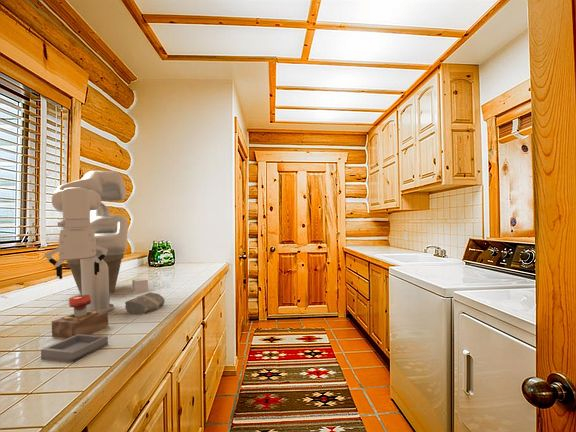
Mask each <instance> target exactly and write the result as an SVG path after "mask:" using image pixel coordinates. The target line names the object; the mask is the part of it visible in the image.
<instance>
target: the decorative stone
mask: <svg viewBox="0 0 576 432" xmlns="http://www.w3.org/2000/svg"><path fill="white" fill-rule="evenodd" d="M165 302H166V301H165V298H164V296H162V295H161V294H160V293H156V292H147V293H145V294H142V295H139V296H136V297H134V298H132V299H129V300H127V301H125V302H124V303H125V305H124V306H125V310H126V313H127V314H129V315H146V314H148V313H151V312H155V311H157V310H159V309H160V308H162V307H163V306H164V304H165Z"/></svg>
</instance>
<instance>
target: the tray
mask: <svg viewBox="0 0 576 432" xmlns="http://www.w3.org/2000/svg"><path fill="white" fill-rule="evenodd" d="M108 337H109V336H108V335H95V334H90V335H85V334H77V335H75V336H72V337H70V338H64V339H63V340H61V341H58V342H56V343H53V344H51V345H49V346H46V347H44V348H43V347H42V348H41V349H40V358H41V360H46V361H47V360H48V361H55V362H57V361H58V362H65V363H75V362H78V361H79V360H81V359H82V358H85V357H87V356H89V355H90V354H93V353H95V352H96V351H99V350H101V349H103V348H105V347H107V346H108V345H109V338H108Z"/></svg>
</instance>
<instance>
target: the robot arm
mask: <svg viewBox="0 0 576 432" xmlns="http://www.w3.org/2000/svg"><path fill="white" fill-rule="evenodd" d="M125 185H126V184H125V182H124V179H123V177H122V175H121V174H120V172H118V171H116V170H90V171H88V172H86V173H85V174H84V175H83V177H81V179H78V180H74V181H70V182H66V183H63V184H61V185H59V186H58V187H57V188H56V189H55V190H54V192H53V194H52V196H51V203H52V204H51V205H52V207H53V208H54V210H56V211H58V212H62V221H59V222H58V221H57V227H61V228H63V229H60V231H59V237H58V247H56V248H55V249H53V250H50V251H48V252H46V253H45V254H44V257H45V258H46V259H47V260H48V262H49V263H50V264H52V265H53V266H55V267H56V269H55V271H56V277H58V279H59V280H63V266H62V264H63V263H64V262H65V261H66V260H76V259H80V264H81V286H82V295H91V303H90V304H89V305H87V311H98V312H108V313H109V312H110V311H112V310H114V309H115V304H112V303H110V293H109V274H108V265H107V264H106V262H105V261H104V260H103V258H104V257H105V256H113V255H121V254H123V253H126V251H127V247H128V233H129V232H128V230H129V223H128V220H127V218H126V217H125V216H123V215H121V214H120V215H119V214H116V215H115V214H111V210H110V208H109V207H107V205H105V204H104V203H103V202H119V201H123V200H125V199H126V196H127V189H126V186H125ZM56 253H58V257H59V258H58V260H55V259H54V258H53V257H52V256H53V255H55V254H56Z"/></svg>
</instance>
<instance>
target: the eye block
mask: <svg viewBox="0 0 576 432" xmlns="http://www.w3.org/2000/svg"><path fill="white" fill-rule="evenodd" d="M108 327H109V311H108V312H98V311H87V315H86V316H83V317H80V318H78V317H74V313H71V314H68V315H65V316H63V317H61V318H57V319H54V320H52V321H51V337H52V338H64V339H67V338H70V337H72V336H75V335H77V334H85V335H93V334H94V333H96V332H99V331H101V330H103V329H106V328H108Z"/></svg>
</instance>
